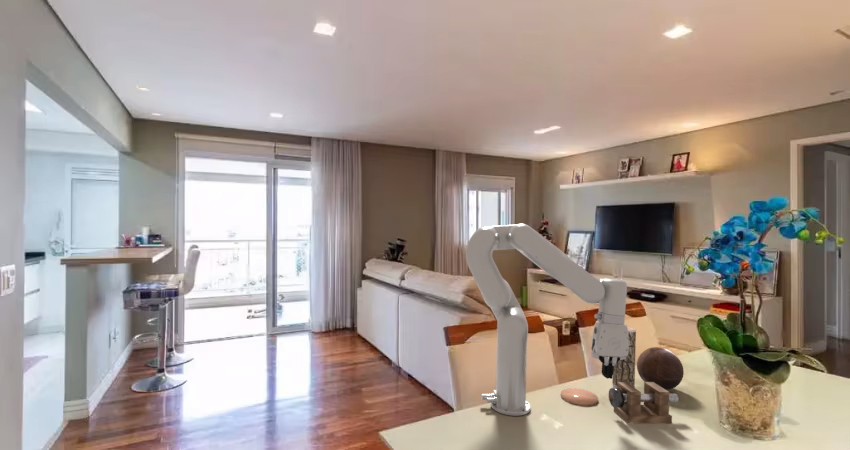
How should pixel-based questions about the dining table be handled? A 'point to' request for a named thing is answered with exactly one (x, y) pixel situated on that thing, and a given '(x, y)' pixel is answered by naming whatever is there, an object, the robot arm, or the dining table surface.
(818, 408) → the dining table surface
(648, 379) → the wooden sphere
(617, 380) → the paper tube
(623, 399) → the shaft
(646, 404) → the bearing housing
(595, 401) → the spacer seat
